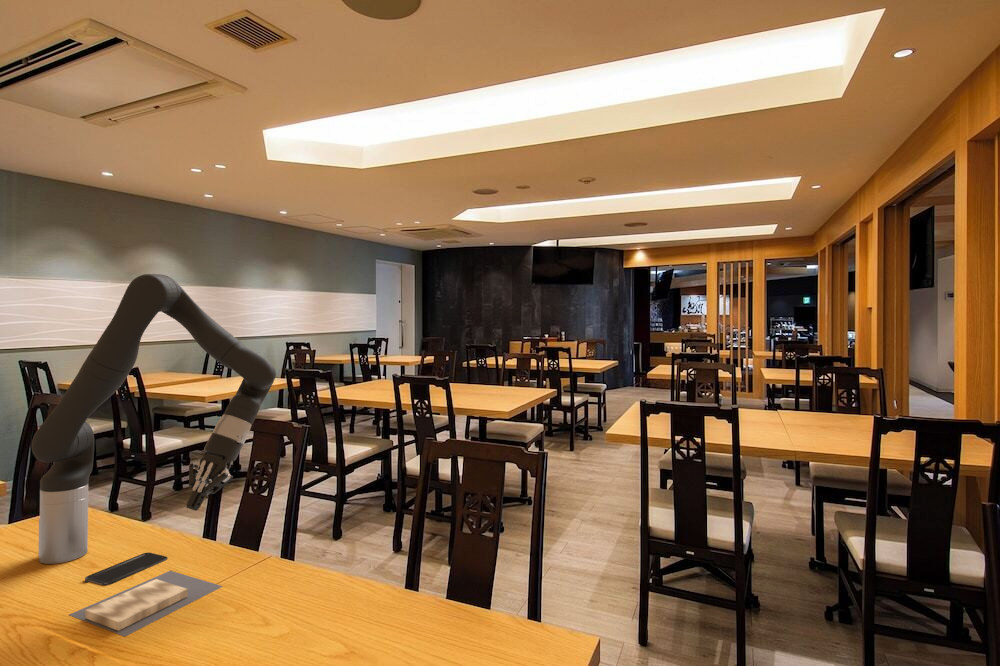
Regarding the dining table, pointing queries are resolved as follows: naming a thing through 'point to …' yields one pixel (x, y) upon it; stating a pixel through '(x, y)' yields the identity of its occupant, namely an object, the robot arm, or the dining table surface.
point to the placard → (136, 604)
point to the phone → (125, 569)
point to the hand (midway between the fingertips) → (191, 509)
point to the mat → (195, 592)
